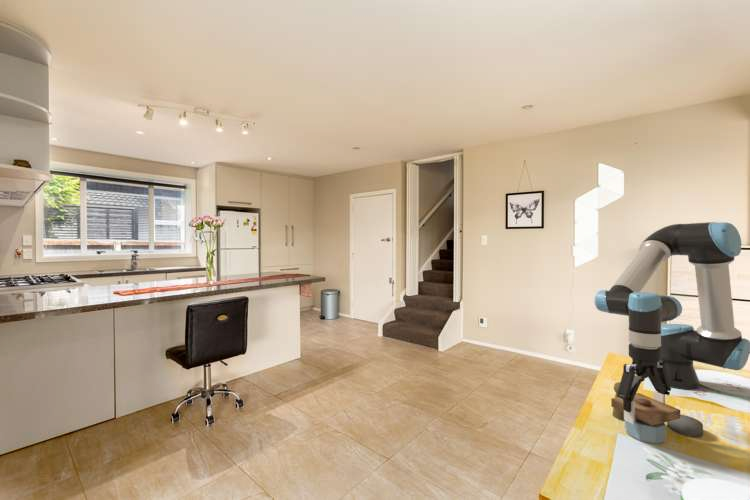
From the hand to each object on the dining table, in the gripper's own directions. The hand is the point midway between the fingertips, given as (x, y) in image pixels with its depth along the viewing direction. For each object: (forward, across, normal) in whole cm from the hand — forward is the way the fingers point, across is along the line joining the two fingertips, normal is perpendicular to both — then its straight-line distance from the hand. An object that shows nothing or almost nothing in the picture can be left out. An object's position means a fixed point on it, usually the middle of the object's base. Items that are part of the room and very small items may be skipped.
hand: (644, 418), depth 101 cm
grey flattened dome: (+5, -14, +2) cm, 15 cm away
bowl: (+5, 0, 0) cm, 5 cm away
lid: (-2, 0, 0) cm, 2 cm away
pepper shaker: (+5, -4, -10) cm, 12 cm away
